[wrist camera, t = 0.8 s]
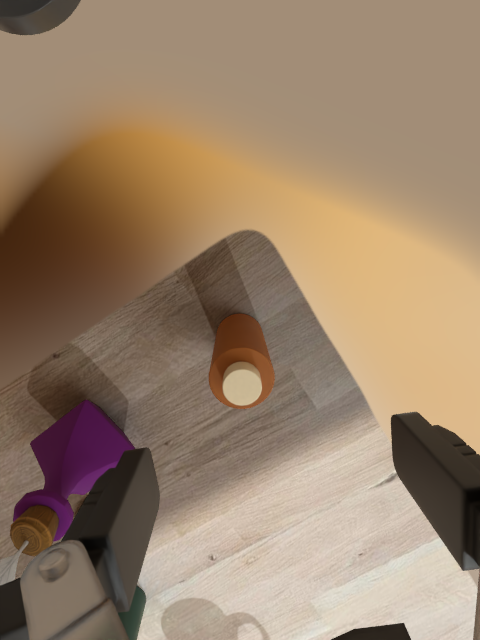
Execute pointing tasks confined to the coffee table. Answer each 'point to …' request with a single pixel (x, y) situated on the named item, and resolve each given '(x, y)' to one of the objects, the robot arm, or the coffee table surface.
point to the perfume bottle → (63, 478)
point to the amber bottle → (240, 363)
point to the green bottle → (134, 614)
